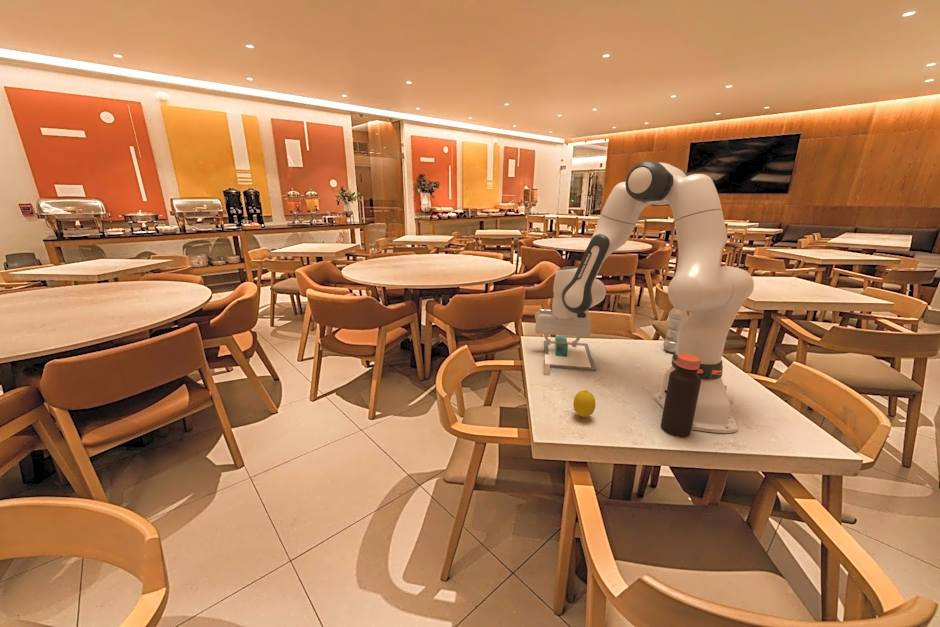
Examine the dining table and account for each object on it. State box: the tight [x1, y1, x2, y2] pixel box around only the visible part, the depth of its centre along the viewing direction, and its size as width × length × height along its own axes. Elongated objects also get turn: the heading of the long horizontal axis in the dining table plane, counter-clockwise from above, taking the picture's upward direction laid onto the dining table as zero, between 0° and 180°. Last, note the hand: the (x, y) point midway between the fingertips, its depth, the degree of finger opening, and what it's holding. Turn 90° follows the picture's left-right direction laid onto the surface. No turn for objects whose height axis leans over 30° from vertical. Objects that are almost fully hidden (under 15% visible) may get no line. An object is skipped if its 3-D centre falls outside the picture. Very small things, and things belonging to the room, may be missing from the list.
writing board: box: [543, 340, 597, 372], centre depth 140 cm, size 24×17×1 cm
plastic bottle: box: [663, 306, 689, 354], centre depth 142 cm, size 6×7×20 cm
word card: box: [543, 354, 551, 376], centre depth 128 cm, size 8×2×4 cm, turn 170°
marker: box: [554, 335, 568, 357], centre depth 142 cm, size 13×4×4 cm, turn 170°
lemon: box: [573, 389, 596, 418], centre depth 99 cm, size 6×6×8 cm
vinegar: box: [660, 354, 701, 438], centre depth 92 cm, size 7×7×20 cm
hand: (561, 345), depth 141 cm, fingers open, 8 cm apart
